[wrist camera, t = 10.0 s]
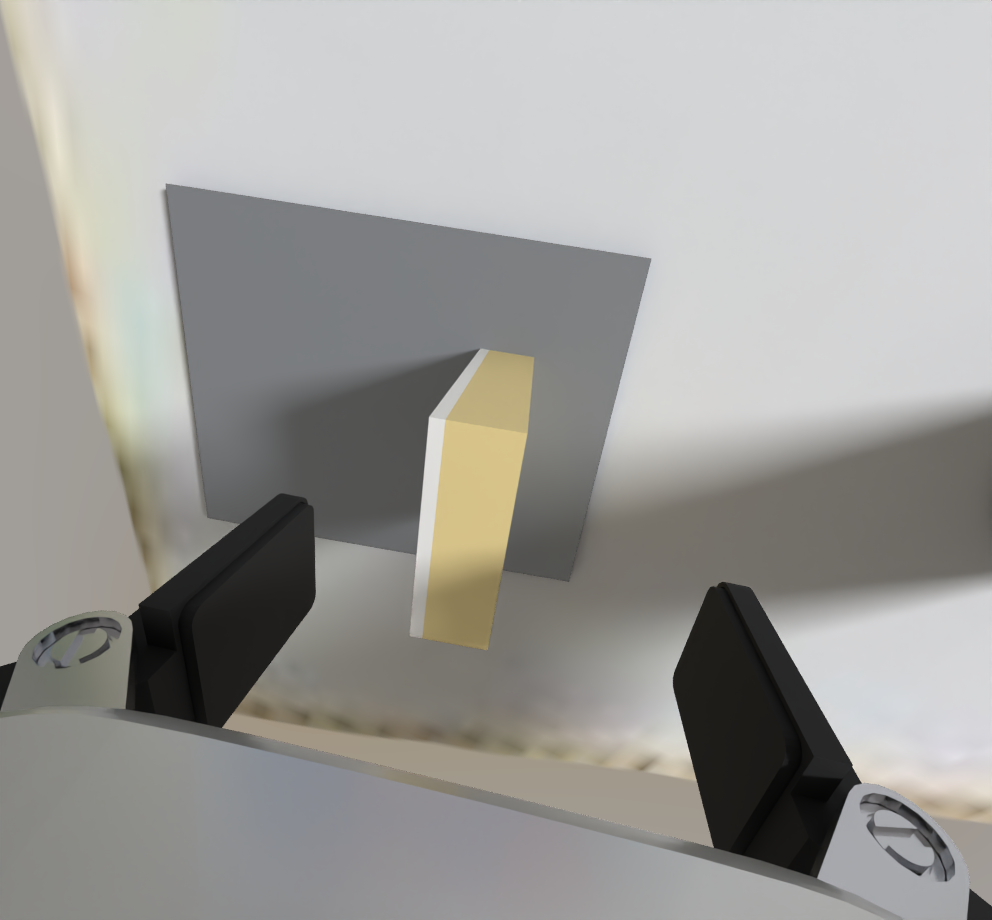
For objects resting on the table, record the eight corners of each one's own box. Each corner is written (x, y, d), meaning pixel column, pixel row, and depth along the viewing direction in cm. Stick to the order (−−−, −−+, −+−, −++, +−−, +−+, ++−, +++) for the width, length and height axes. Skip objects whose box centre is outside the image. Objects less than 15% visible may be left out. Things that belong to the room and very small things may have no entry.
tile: (534, 357, 20) (527, 433, 11) (509, 496, 23) (487, 650, 14) (480, 348, 20) (429, 416, 11) (462, 488, 23) (409, 636, 14)
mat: (648, 259, 19) (651, 258, 18) (568, 574, 25) (568, 581, 25) (176, 185, 19) (165, 183, 19) (214, 512, 26) (207, 517, 25)
